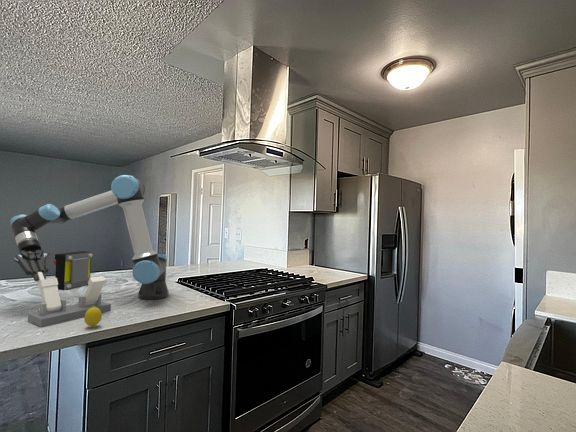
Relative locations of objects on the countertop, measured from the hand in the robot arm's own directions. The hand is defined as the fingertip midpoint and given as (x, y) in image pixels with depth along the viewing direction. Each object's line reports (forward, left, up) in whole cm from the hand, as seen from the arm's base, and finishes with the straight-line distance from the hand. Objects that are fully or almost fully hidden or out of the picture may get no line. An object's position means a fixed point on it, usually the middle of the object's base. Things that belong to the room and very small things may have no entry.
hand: (42, 286), depth 126 cm
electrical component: (+24, -52, -13) cm, 58 cm away
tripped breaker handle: (-9, +5, -9) cm, 13 cm away
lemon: (-29, +10, -13) cm, 33 cm away
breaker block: (-12, -2, -13) cm, 17 cm away
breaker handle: (-15, -8, -9) cm, 19 cm away
